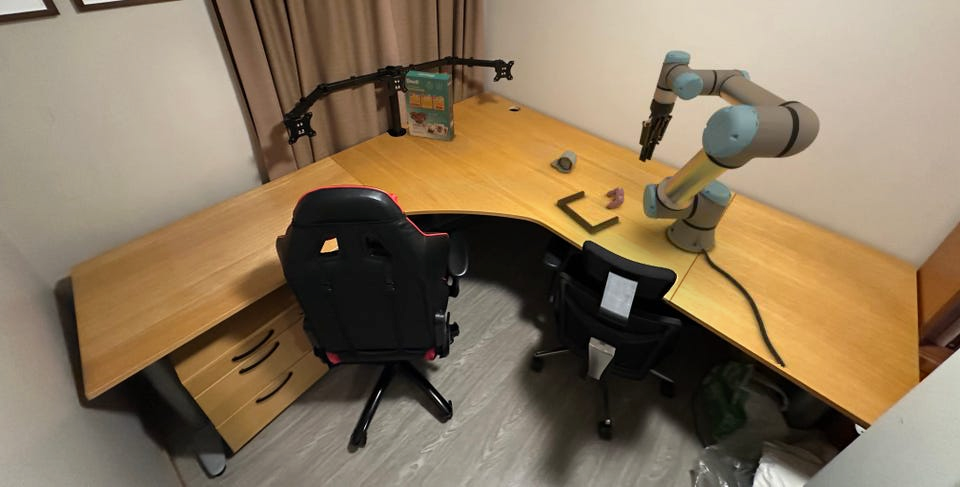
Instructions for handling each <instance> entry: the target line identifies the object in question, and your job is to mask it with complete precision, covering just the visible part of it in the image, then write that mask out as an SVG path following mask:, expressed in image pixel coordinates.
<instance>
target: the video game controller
mask: <svg viewBox="0 0 960 487" xmlns="http://www.w3.org/2000/svg"><path fill="white" fill-rule="evenodd" d="M606 196H607V197H613V200H612V201H611V202H609V203H608V204H607V205H606V207H607V209H614V208H615V209H616V208H617V207H619V206H622V205H623V204H624V202H625V190H624V188H622V187H615V188H614V189H611V190H608V191H607V192H606Z"/></svg>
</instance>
